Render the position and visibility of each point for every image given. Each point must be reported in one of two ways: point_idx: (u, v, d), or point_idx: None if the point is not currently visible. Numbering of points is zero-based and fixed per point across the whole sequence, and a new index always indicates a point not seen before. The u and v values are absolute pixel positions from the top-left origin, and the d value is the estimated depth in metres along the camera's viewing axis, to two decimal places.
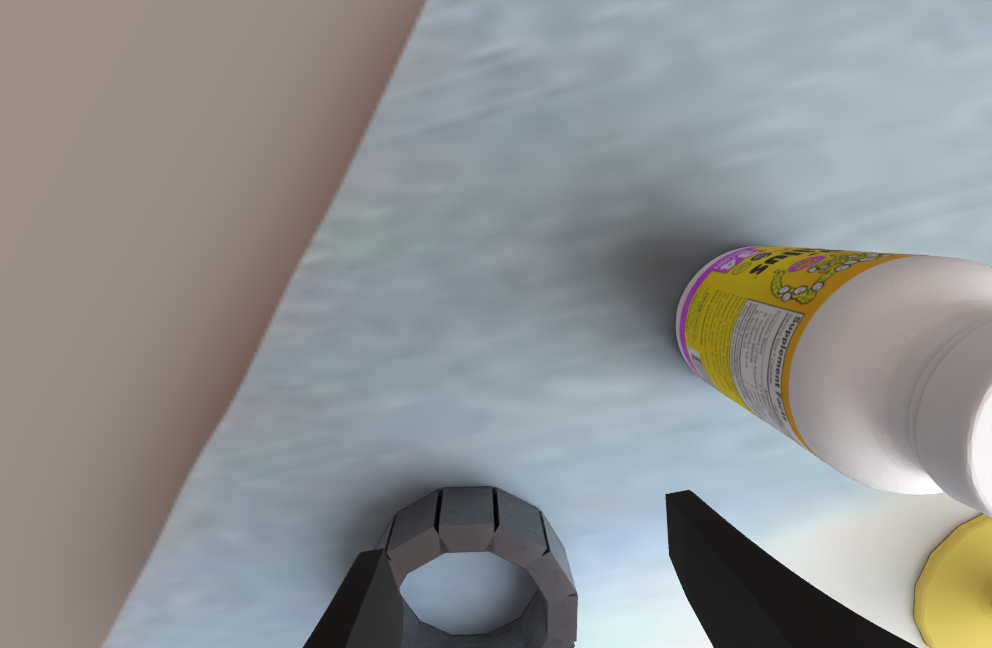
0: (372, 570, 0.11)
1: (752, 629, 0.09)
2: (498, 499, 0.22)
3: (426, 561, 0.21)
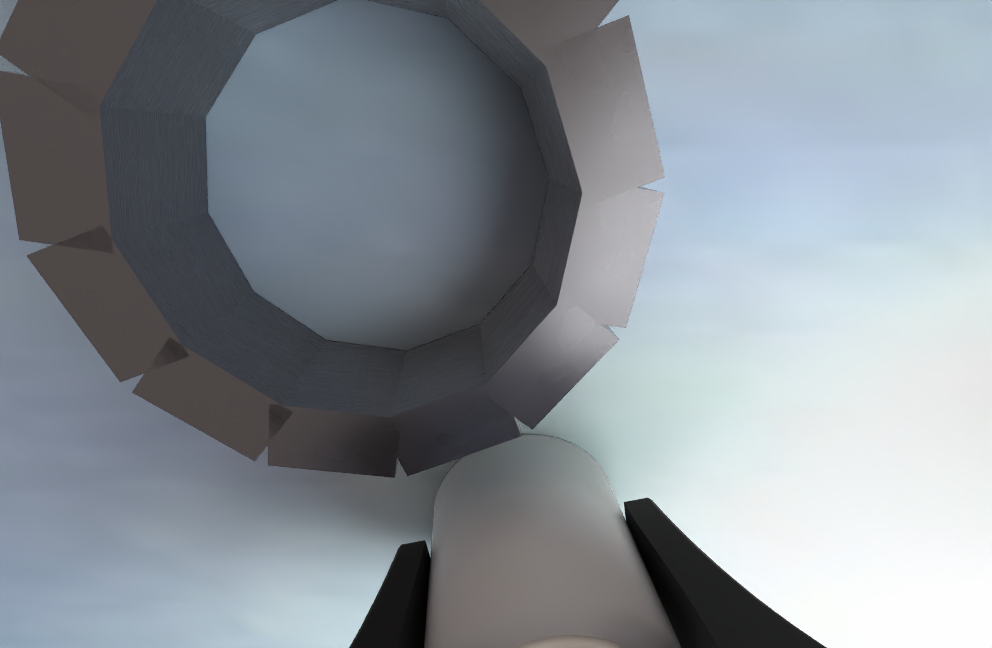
0: (416, 562, 0.11)
1: (696, 640, 0.09)
2: None
3: None
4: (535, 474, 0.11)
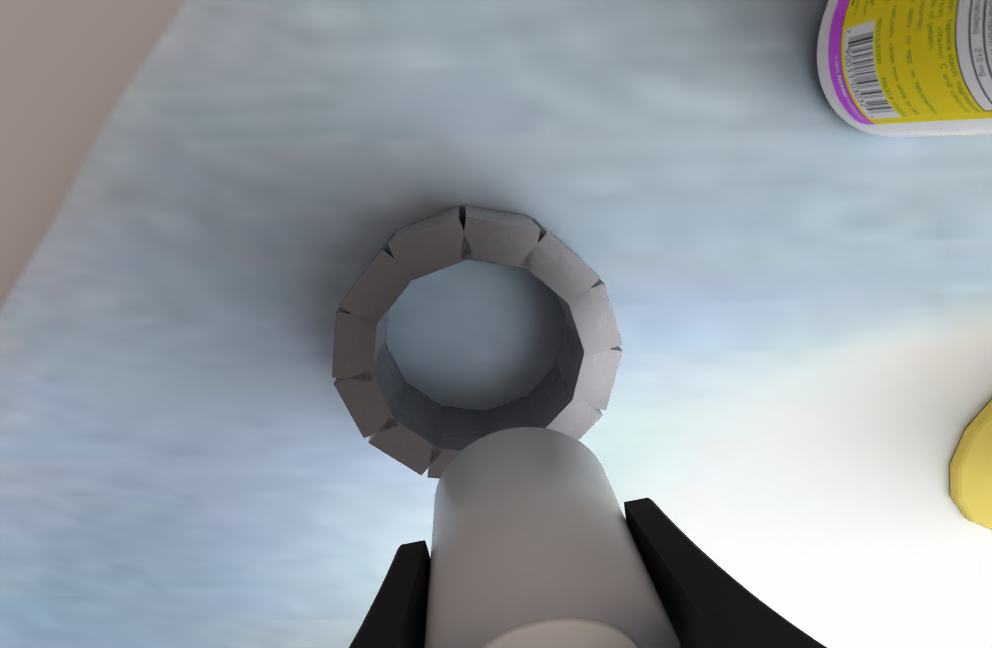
0: (416, 562, 0.11)
1: (696, 640, 0.09)
2: (538, 223, 0.17)
3: (440, 267, 0.15)
4: (532, 464, 0.11)
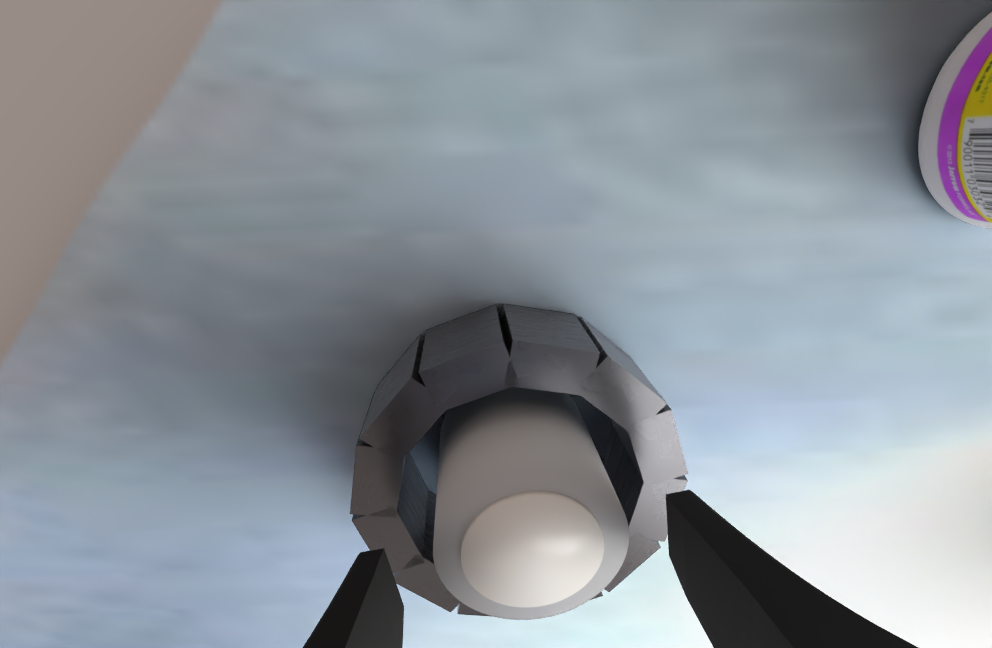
0: (372, 570, 0.11)
1: (752, 629, 0.09)
2: (590, 329, 0.14)
3: (479, 395, 0.13)
4: (517, 395, 0.15)
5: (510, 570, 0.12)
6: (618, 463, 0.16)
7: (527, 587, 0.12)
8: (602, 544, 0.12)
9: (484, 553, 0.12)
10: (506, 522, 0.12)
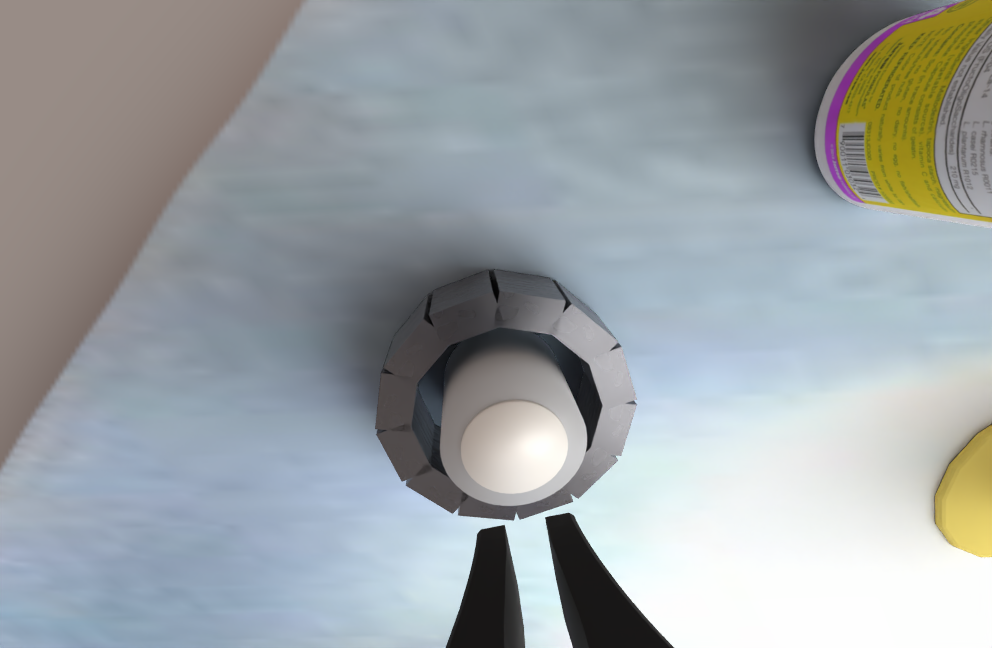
0: (502, 545, 0.11)
1: None
2: (561, 288, 0.19)
3: (475, 334, 0.17)
4: (505, 340, 0.19)
5: (497, 462, 0.16)
6: (586, 398, 0.20)
7: (510, 476, 0.17)
8: (566, 442, 0.16)
9: (478, 448, 0.16)
10: (494, 422, 0.16)
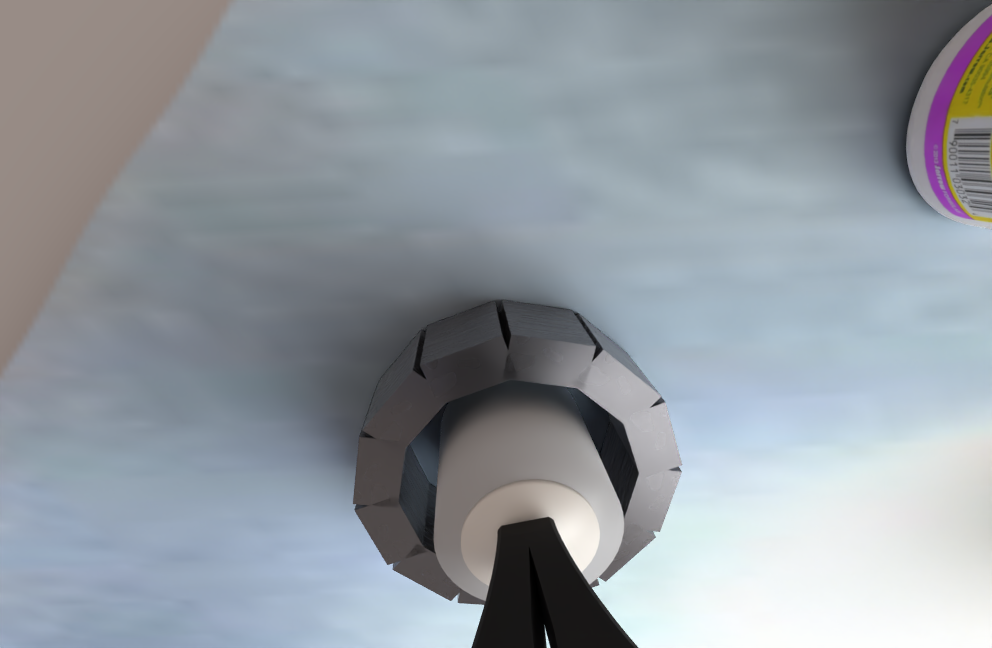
0: (524, 541, 0.11)
1: None
2: (586, 324, 0.15)
3: (479, 388, 0.13)
4: (516, 389, 0.15)
5: None
6: (614, 456, 0.17)
7: None
8: (598, 531, 0.12)
9: (483, 540, 0.12)
10: (504, 509, 0.12)
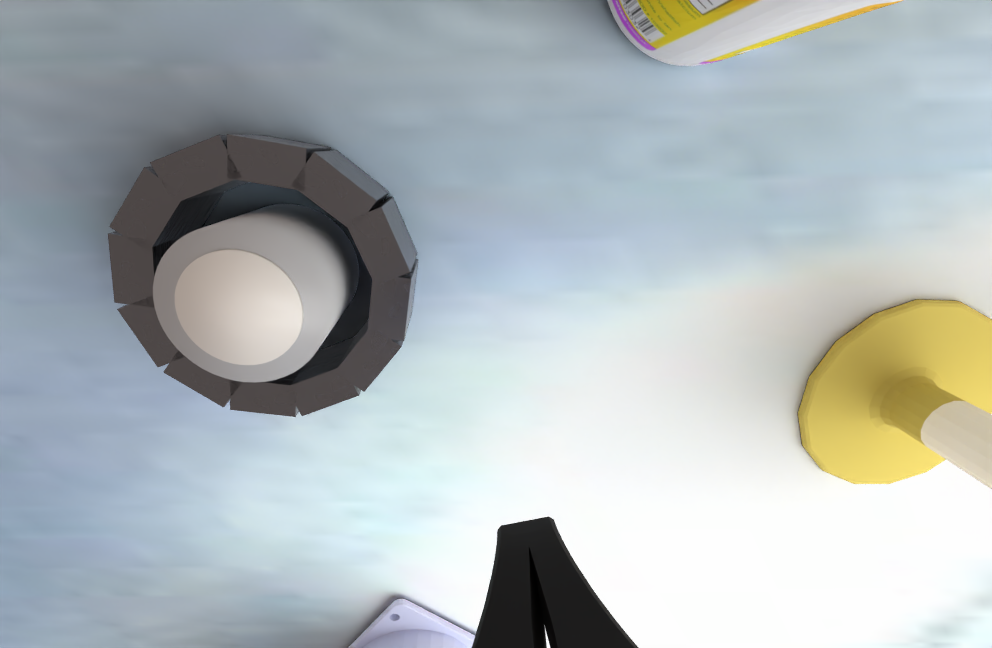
0: (524, 541, 0.11)
1: None
2: (330, 151, 0.17)
3: (208, 187, 0.15)
4: (268, 209, 0.17)
5: (222, 325, 0.14)
6: None
7: (241, 344, 0.15)
8: (297, 302, 0.14)
9: (195, 307, 0.14)
10: (208, 275, 0.14)
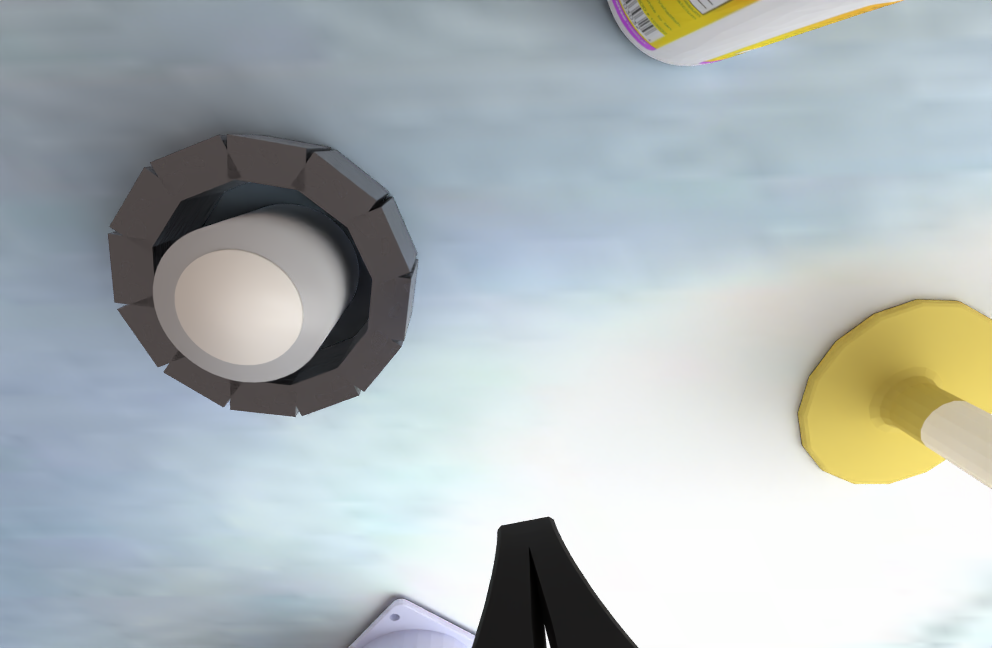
0: (524, 541, 0.11)
1: None
2: (330, 151, 0.17)
3: (208, 187, 0.15)
4: (268, 209, 0.17)
5: (222, 325, 0.14)
6: None
7: (241, 344, 0.15)
8: (297, 302, 0.14)
9: (195, 307, 0.14)
10: (208, 275, 0.14)
